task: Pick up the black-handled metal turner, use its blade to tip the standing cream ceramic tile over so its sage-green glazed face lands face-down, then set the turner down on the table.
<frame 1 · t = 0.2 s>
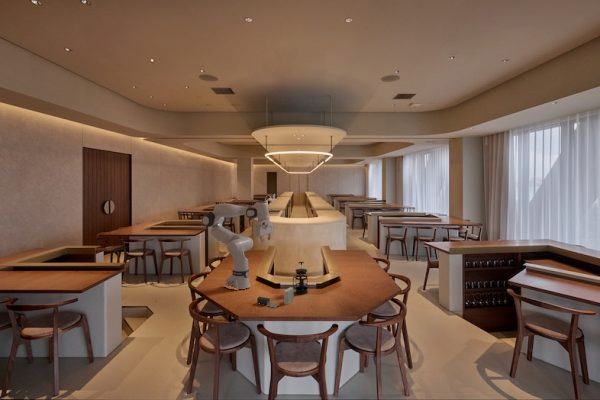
hand: (265, 240, 233), 39 cm above the table, tool pointing down, fingers open, 8 cm apart
turner: (263, 304, 210), on the table
tile: (288, 302, 213), on the table
french press: (300, 292, 232), on the table
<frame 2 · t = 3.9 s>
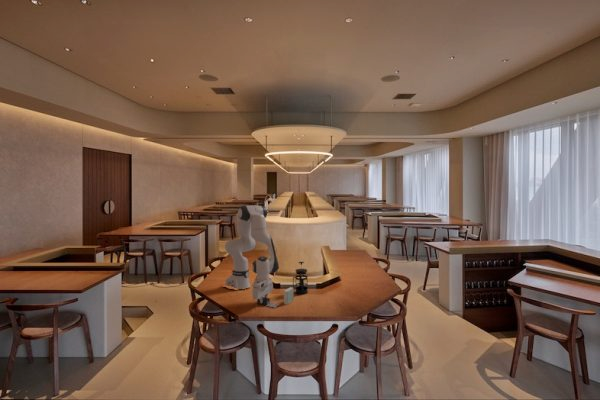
hand: (263, 301, 210), 2 cm above the table, tool pointing down, fingers closed on turner, 3 cm apart
turner: (263, 303, 210), on the table, touching gripper
everything else where it was.
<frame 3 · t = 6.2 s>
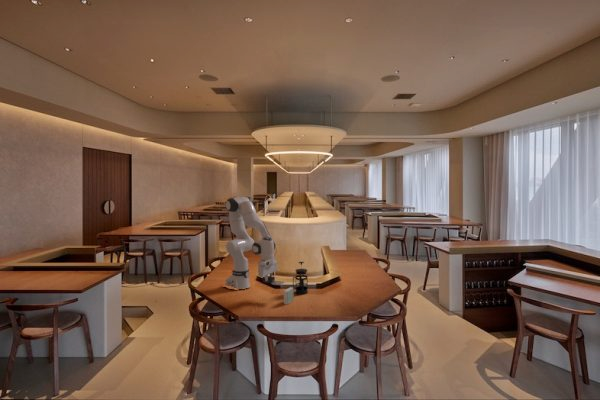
hand: (268, 280, 219), 13 cm above the table, tool pointing down, fingers closed on turner, 3 cm apart
turner: (268, 282, 219), point 12 cm above the table, touching gripper
everything else where it was.
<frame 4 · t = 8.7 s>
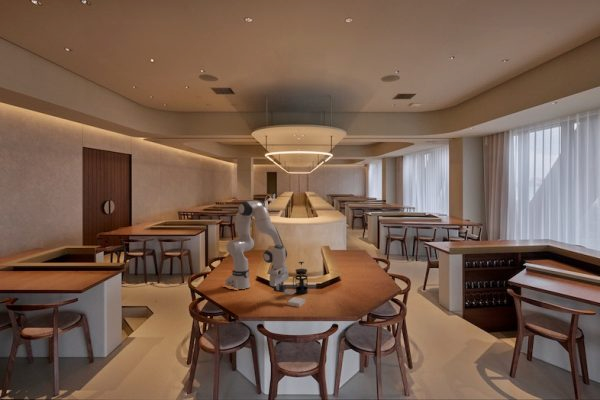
hand: (279, 288, 215), 8 cm above the table, tool pointing down, fingers closed on turner, 3 cm apart
turner: (279, 291, 215), point 7 cm above the table, touching gripper
tile: (290, 300, 212), point 1 cm above the table, tilted 90°
everything else where it was.
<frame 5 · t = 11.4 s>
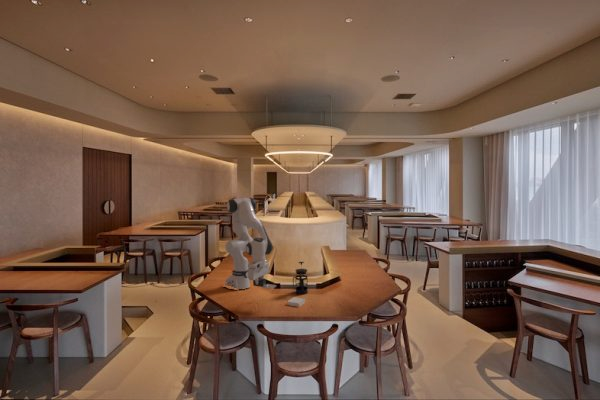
hand: (259, 283, 207), 15 cm above the table, tool pointing down, fingers closed on turner, 3 cm apart
turner: (259, 285, 207), point 13 cm above the table, touching gripper
everything else where it was.
when the fingers open (2 cm above the table, at t = 13.8 s): turner stays where it is, on the table.
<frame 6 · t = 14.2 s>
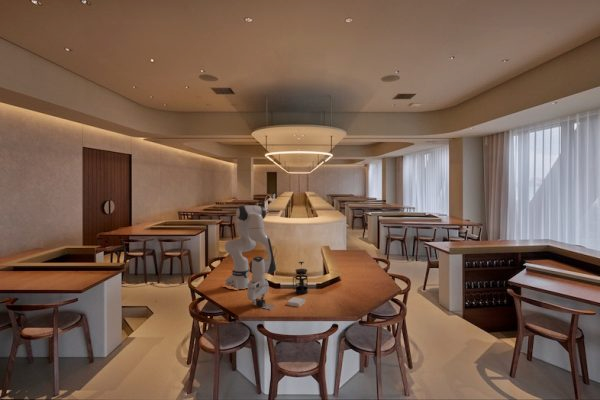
hand: (258, 302, 207), 2 cm above the table, tool pointing down, fingers open, 7 cm apart
turner: (259, 305, 207), on the table
everything else where it was.
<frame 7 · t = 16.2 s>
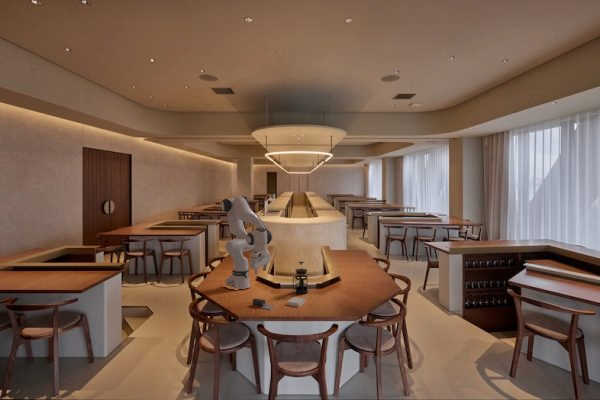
hand: (260, 272, 212), 21 cm above the table, tool pointing down, fingers open, 8 cm apart
nothing on the table moved.
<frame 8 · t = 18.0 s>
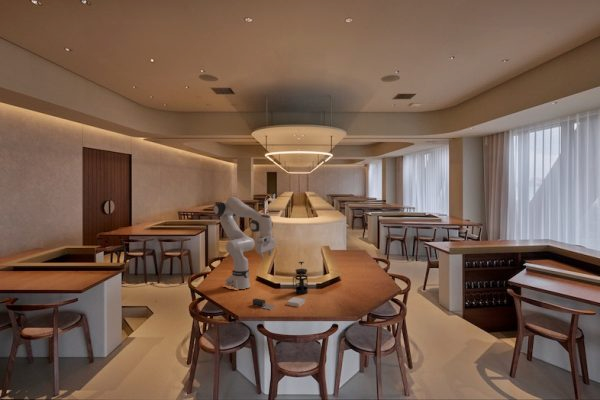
hand: (266, 257, 222), 29 cm above the table, tool pointing down, fingers open, 8 cm apart
nothing on the table moved.
at the end: tile tilted 90°; the gripper is holding nothing; turner touching table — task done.
